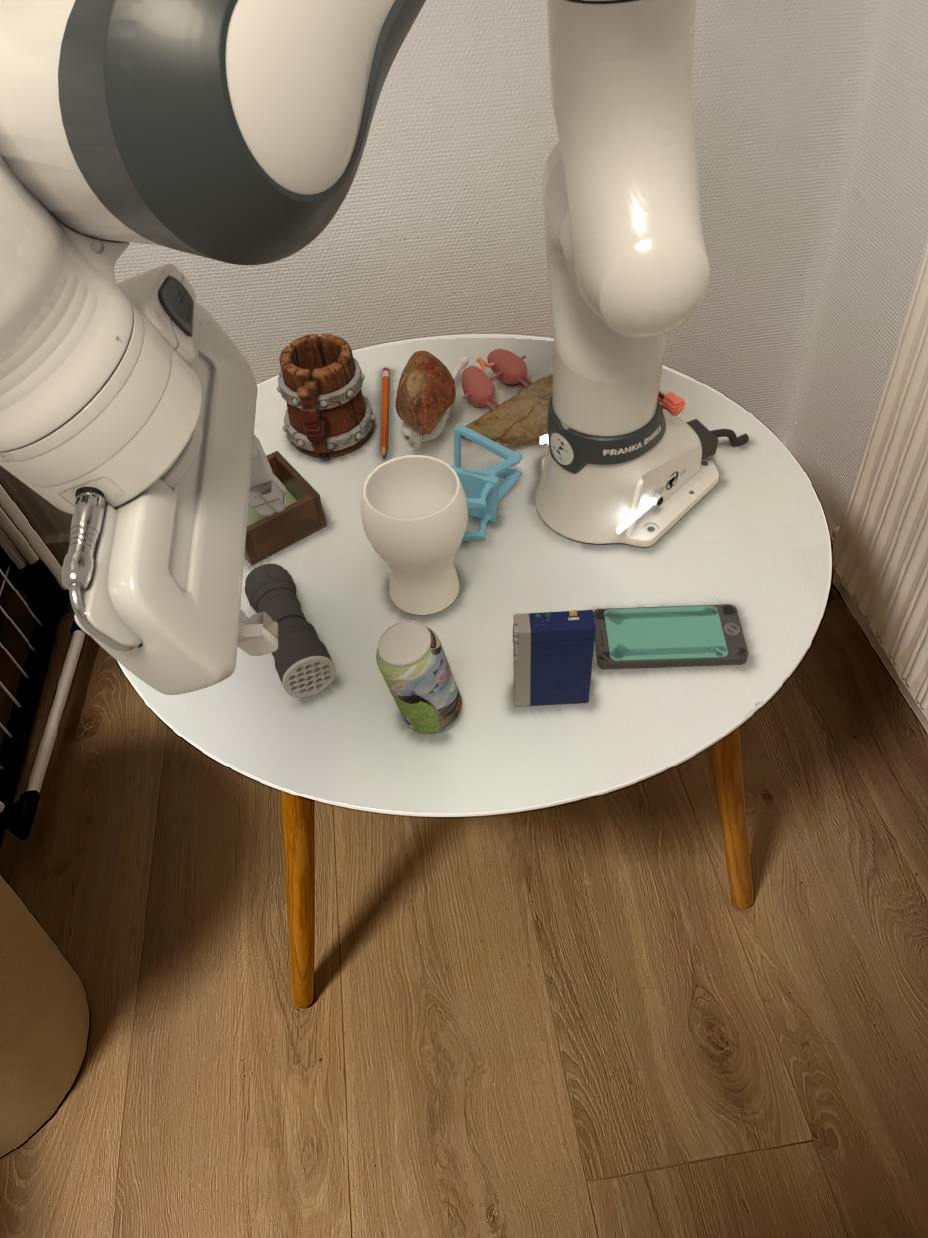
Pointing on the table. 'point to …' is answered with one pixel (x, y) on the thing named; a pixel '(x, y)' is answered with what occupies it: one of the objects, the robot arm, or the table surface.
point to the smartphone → (669, 636)
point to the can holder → (284, 515)
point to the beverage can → (418, 676)
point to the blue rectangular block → (553, 657)
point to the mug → (323, 396)
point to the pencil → (384, 412)
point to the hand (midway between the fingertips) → (272, 569)
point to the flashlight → (290, 632)
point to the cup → (416, 529)
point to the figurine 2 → (503, 366)
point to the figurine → (414, 434)
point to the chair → (484, 479)
